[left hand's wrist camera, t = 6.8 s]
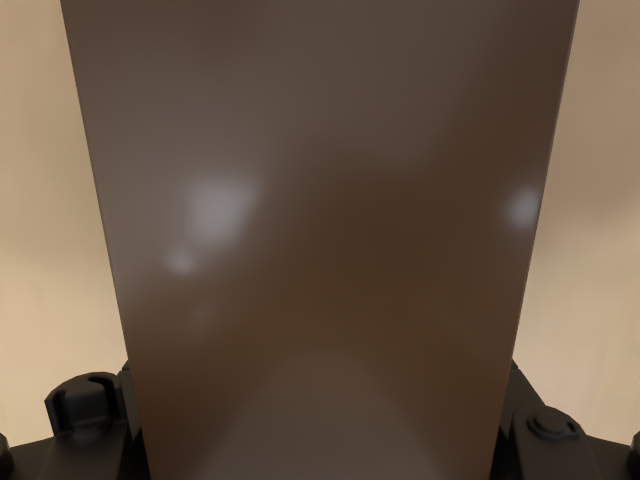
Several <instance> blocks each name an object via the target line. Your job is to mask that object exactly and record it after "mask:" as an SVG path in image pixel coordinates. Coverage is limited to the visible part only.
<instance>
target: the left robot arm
mask: <svg viewBox="0 0 640 480" xmlns="http://www.w3.org/2000/svg"><path fill="white" fill-rule="evenodd" d="M44 402H45V405H46V409H47V412H48V416H49V419H50V423H51V426H52V430H53V433H54V436H53V437H51V438H47V439H44V440H40V441H36V442H32V443H28V444H23V445H19V446H15V447H11V448H9V445H8V442H7V439H6V437H5V436H4V435H2V434H1V433H0V480H151V477H150V472H149V467H148V461H147V456H146V451H145V446H144V440H143V435H142V430H141V424H140V419H139V414H138V409H137V403H136V398H135V393H134V387H133V382H132V377H131V372H130V366H129V361H128V360H127V362H126V363H125V365H124V366H123V367H122V371H120V372H119V373H118V374H117V376H116V375H115V374H112V373H108V372H91V373H87V374H83V375H79V376H76V377H74V378H72V379H70V380H68V381H66V382H63V383H62V384H61V385H59V386H58V387H56V388H55V389H54V390H52V391H51V392H50V394H49V395H48V396H47V398H46V399H45V400H44ZM489 480H640V431H639V432H638V433H637V434H636V435H634V437H633V440H632V443H631V446H628V445H624V444H620V443H616V442H611V441H607V440H603V439H599V438H595V437H592V436H588V435H586V434H585V432H584V431H583V429H582V428H581V426H580V425H579V424H578V423H577V422H576V421H575V420H573V419H572V418H571V417H570V416H569V415H567V414H565V413H563V412H561V411H559V410H557V409H556V408H552V407H549V406H546V405H545V404H544V402H543V401H542V400H541V398H540V397H539V395H538V394H537V393H536V391H535V390H534V388H533V387H532V386H531V384H530V383H529V381H528V380H527V379H526V377H525V376H524V374H523V373H522V372H521V370H520V369H518V366H517V365H516V363H515V362H514V360H513V359H512V361H511V366H510V371H509V377H508V382H507V387H506V392H505V398H504V403H503V408H502V414H501V419H500V424H499V429H498V435H497V440H496V445H495V451H494V456H493V461H492V466H491V472H490V477H489Z"/></svg>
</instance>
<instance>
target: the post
mask: <svg viewBox="0 0 640 480" xmlns="http://www.w3.org/2000/svg"><path fill="white" fill-rule="evenodd" d="M60 2H61V7H62V13H63V18H64V23H65V29H66V34H67V39H68V44H69V50H70V55H71V60H72V66H73V71H74V76H75V81H76V87H77V92H78V97H79V102H80V108H81V113H82V118H83V124H84V129H85V134H86V139H87V145H88V150H89V155H90V161H91V166H92V171H93V176H94V182H95V187H96V192H97V197H98V203H99V208H100V213H101V219H102V224H103V229H104V234H105V240H106V245H107V250H108V256H109V261H110V266H111V271H112V277H113V282H114V287H115V292H116V298H117V303H118V308H119V314H120V319H121V324H122V329H123V335H124V340H125V345H126V351H127V356H128V361H129V366H130V372H131V377H132V382H133V387H134V393H135V398H136V403H137V409H138V414H139V419H140V424H141V430H142V435H143V440H144V446H145V451H146V456H147V461H148V467H149V472H150V477H151V480H489V477H490V472H491V466H492V461H493V456H494V451H495V445H496V440H497V435H498V429H499V424H500V419H501V414H502V408H503V403H504V398H505V392H506V387H507V382H508V377H509V371H510V366H511V361H512V355H513V350H514V345H515V340H516V334H517V329H518V324H519V319H520V313H521V308H522V303H523V297H524V292H525V287H526V282H527V276H528V271H529V266H530V260H531V255H532V250H533V245H534V239H535V234H536V229H537V224H538V218H539V213H540V208H541V202H542V197H543V192H544V187H545V181H546V176H547V171H548V165H549V160H550V155H551V150H552V144H553V139H554V134H555V128H556V123H557V118H558V113H559V107H560V102H561V97H562V92H563V86H564V81H565V76H566V70H567V65H568V60H569V55H570V49H571V44H572V39H573V33H574V28H575V23H576V18H577V12H578V7H579V2H580V0H60Z"/></svg>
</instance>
